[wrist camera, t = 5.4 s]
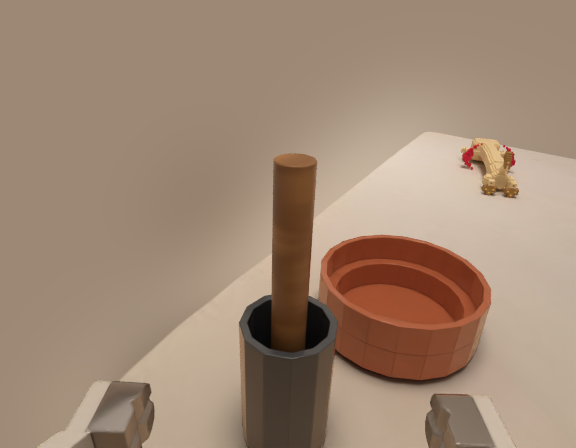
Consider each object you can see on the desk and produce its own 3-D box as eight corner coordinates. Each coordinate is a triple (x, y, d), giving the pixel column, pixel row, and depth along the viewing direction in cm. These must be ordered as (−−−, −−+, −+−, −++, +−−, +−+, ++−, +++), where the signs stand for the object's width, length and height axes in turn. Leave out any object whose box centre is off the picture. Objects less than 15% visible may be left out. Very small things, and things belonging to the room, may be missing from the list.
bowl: (285, 324, 40) (287, 273, 37) (368, 265, 50) (374, 222, 47) (432, 418, 31) (448, 360, 28) (496, 322, 41) (513, 273, 38)
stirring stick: (263, 424, 29) (264, 158, 20) (283, 405, 31) (293, 150, 22) (285, 443, 28) (297, 169, 19) (306, 423, 29) (325, 159, 20)
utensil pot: (226, 429, 29) (220, 322, 25) (282, 382, 33) (285, 282, 29) (287, 488, 26) (292, 375, 21) (341, 427, 30) (356, 321, 25)
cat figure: (527, 205, 71) (502, 155, 92) (543, 159, 67) (514, 117, 87) (467, 198, 73) (456, 150, 94) (479, 153, 69) (465, 113, 90)
